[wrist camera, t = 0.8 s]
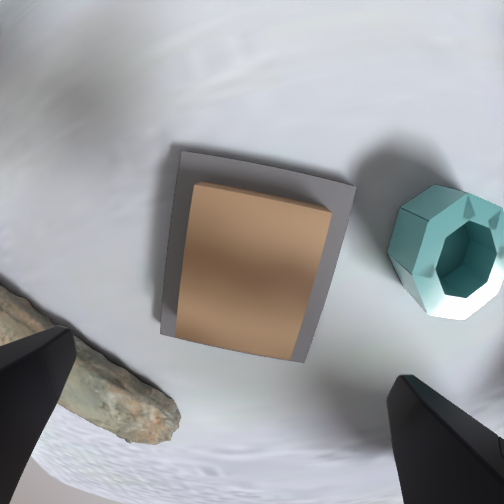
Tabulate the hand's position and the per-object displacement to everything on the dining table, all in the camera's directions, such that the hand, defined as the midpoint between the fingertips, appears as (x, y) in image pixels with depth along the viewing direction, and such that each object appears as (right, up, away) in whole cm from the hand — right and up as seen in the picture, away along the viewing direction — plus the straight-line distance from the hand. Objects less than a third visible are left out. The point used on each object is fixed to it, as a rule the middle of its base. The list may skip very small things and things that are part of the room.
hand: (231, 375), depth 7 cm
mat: (0, +2, +12) cm, 12 cm away
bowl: (+13, +4, +11) cm, 17 cm away
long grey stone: (-22, -4, +16) cm, 27 cm away
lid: (0, +2, +11) cm, 11 cm away
